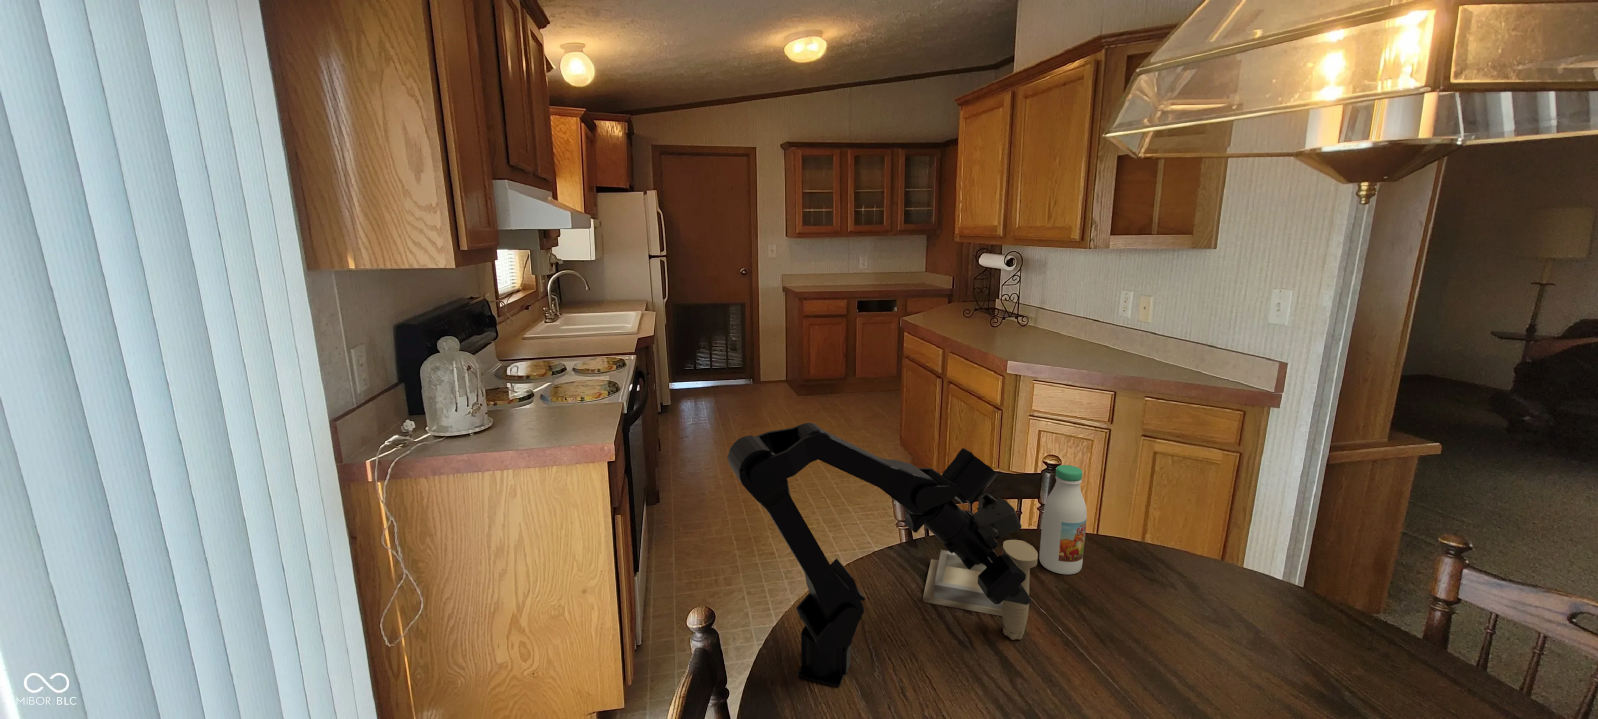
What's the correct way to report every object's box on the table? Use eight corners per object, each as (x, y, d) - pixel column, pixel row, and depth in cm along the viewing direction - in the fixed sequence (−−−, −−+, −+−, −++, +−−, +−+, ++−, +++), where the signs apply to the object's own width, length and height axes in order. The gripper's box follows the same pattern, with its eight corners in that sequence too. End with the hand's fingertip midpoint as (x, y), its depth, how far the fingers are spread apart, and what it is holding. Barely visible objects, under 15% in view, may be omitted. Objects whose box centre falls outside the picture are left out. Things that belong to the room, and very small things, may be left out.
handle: (1005, 648, 96) (1012, 561, 92) (991, 622, 102) (998, 539, 99) (1036, 647, 96) (1043, 560, 92) (1020, 621, 102) (1027, 539, 99)
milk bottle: (1040, 572, 117) (1049, 474, 113) (1037, 552, 124) (1045, 459, 120) (1084, 578, 115) (1095, 478, 110) (1078, 557, 122) (1088, 463, 118)
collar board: (922, 601, 107) (923, 583, 107) (931, 563, 120) (931, 547, 119) (1019, 619, 103) (1020, 600, 102) (1017, 578, 115) (1018, 561, 114)
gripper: (1016, 516, 84) (1085, 583, 87) (966, 465, 102) (1025, 522, 105) (958, 572, 85) (1029, 636, 88) (918, 511, 103) (978, 566, 106)
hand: (1015, 584), depth 97 cm, fingers open, 9 cm apart
